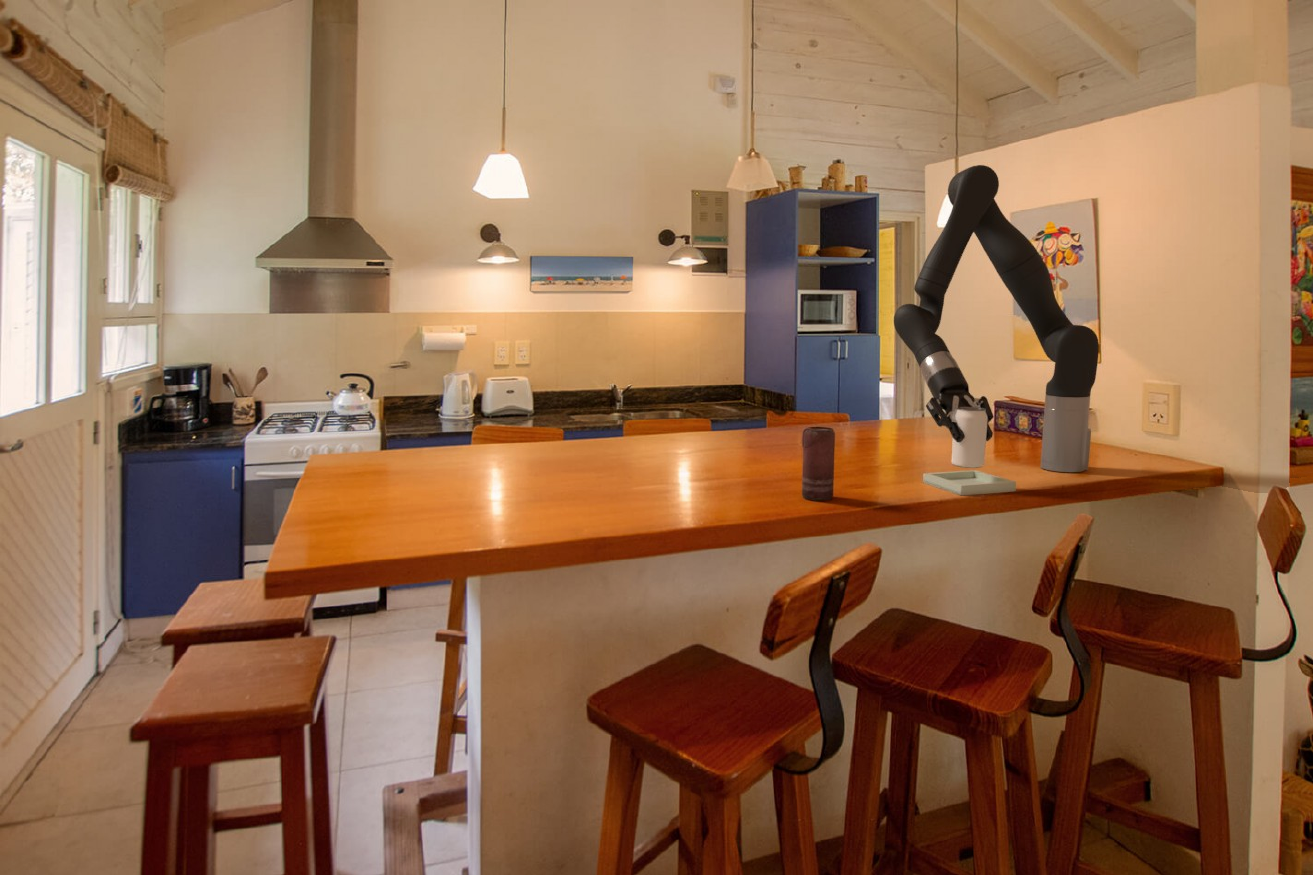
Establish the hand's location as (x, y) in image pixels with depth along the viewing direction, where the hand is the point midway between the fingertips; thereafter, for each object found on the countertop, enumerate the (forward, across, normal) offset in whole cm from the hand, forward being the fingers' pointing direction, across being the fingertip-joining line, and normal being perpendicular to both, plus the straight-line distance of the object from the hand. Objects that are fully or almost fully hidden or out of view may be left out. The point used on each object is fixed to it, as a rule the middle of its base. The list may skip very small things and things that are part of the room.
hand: (975, 439), depth 168 cm
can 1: (+7, -35, +9) cm, 36 cm away
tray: (+6, 0, +8) cm, 10 cm away
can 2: (+3, 0, +5) cm, 6 cm away
